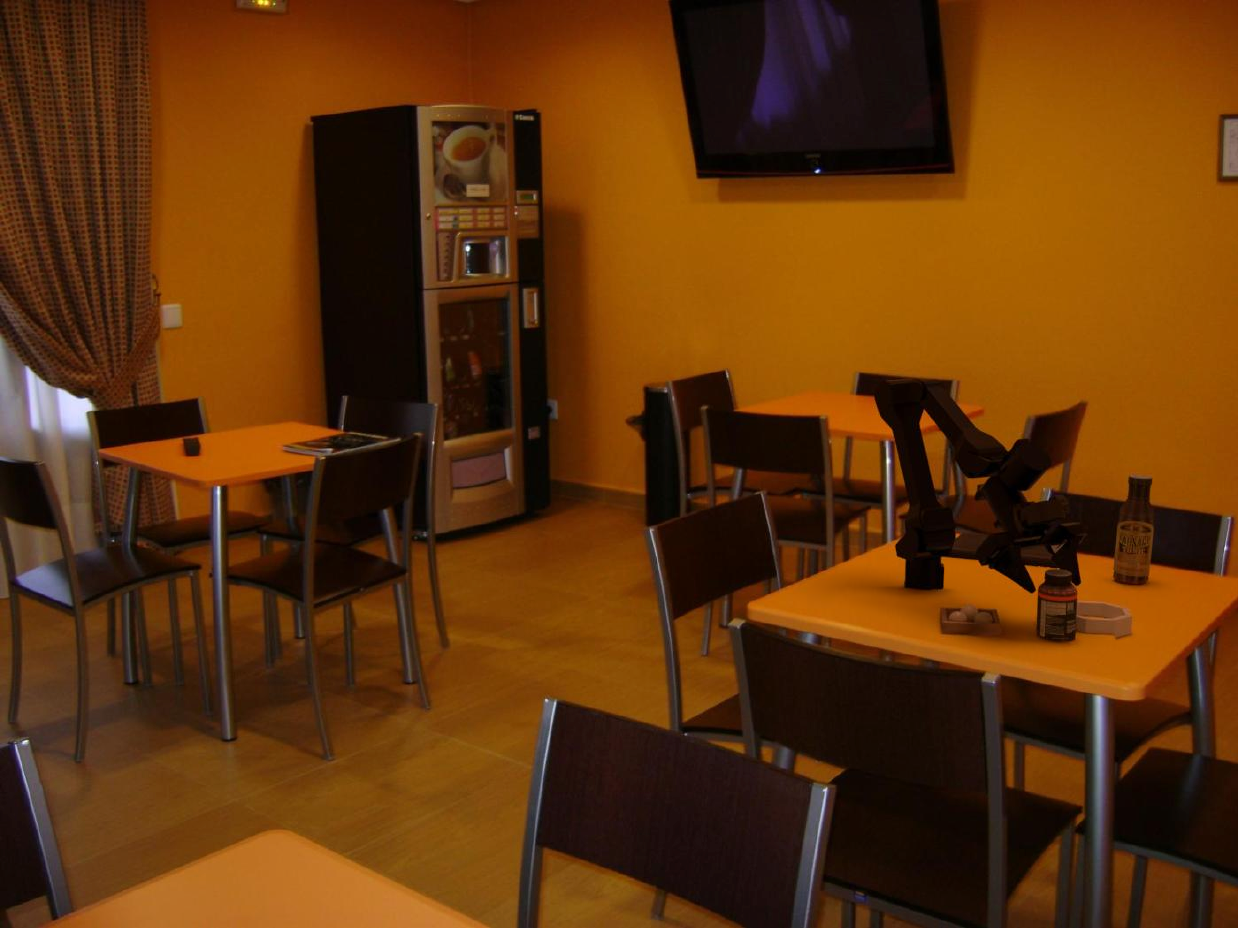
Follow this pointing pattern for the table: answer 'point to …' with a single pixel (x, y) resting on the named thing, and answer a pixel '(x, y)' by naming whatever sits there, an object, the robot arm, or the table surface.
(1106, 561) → the table surface
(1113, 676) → the table surface
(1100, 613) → the dish
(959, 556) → the hardcover book
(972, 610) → the pebble
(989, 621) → the pebble
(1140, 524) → the sauce bottle
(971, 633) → the pebble tray
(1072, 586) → the supplement bottle
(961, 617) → the pebble
